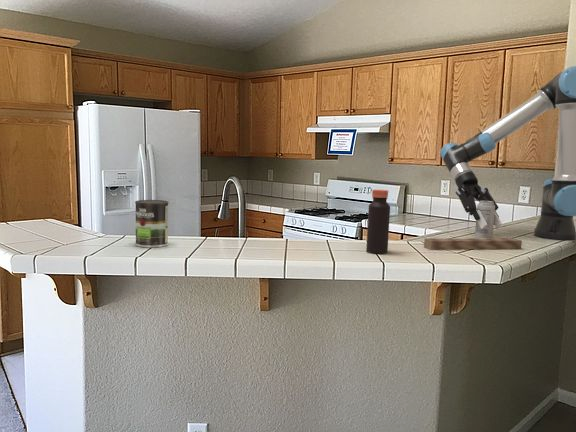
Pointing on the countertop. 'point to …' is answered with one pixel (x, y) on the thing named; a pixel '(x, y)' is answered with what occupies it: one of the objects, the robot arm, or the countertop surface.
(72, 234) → the countertop surface
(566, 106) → the robot arm
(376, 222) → the bottle
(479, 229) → the energy drink can
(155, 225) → the coffee can
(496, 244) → the walnut board
